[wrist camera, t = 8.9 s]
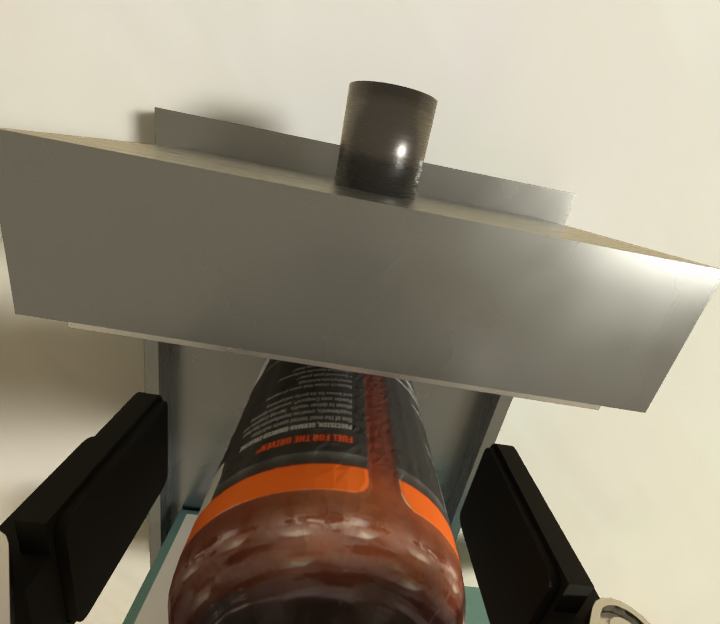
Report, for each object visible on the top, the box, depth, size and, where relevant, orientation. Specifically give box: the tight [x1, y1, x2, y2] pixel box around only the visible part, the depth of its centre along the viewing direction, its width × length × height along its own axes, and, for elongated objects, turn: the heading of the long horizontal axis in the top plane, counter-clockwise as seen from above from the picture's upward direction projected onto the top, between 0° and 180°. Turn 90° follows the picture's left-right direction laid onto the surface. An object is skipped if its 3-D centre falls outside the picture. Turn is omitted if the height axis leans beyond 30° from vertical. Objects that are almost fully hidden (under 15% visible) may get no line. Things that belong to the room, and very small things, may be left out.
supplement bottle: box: [168, 358, 466, 624], centre depth 10 cm, size 6×6×11 cm
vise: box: [0, 81, 720, 569], centre depth 13 cm, size 23×14×8 cm, turn 169°
